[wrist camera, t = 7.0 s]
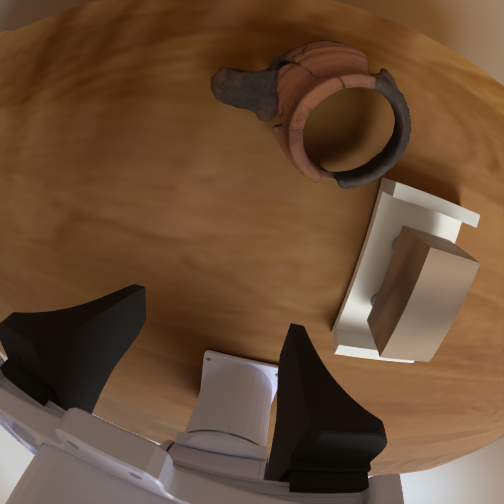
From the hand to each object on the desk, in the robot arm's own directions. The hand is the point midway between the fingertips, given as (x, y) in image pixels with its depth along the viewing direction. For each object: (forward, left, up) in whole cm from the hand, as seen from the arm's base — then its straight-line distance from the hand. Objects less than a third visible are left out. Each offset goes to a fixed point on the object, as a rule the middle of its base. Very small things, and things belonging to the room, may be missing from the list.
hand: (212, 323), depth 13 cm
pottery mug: (+12, -3, -10) cm, 16 cm away
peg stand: (+1, -13, -10) cm, 16 cm away
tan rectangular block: (+1, -13, -8) cm, 15 cm away
